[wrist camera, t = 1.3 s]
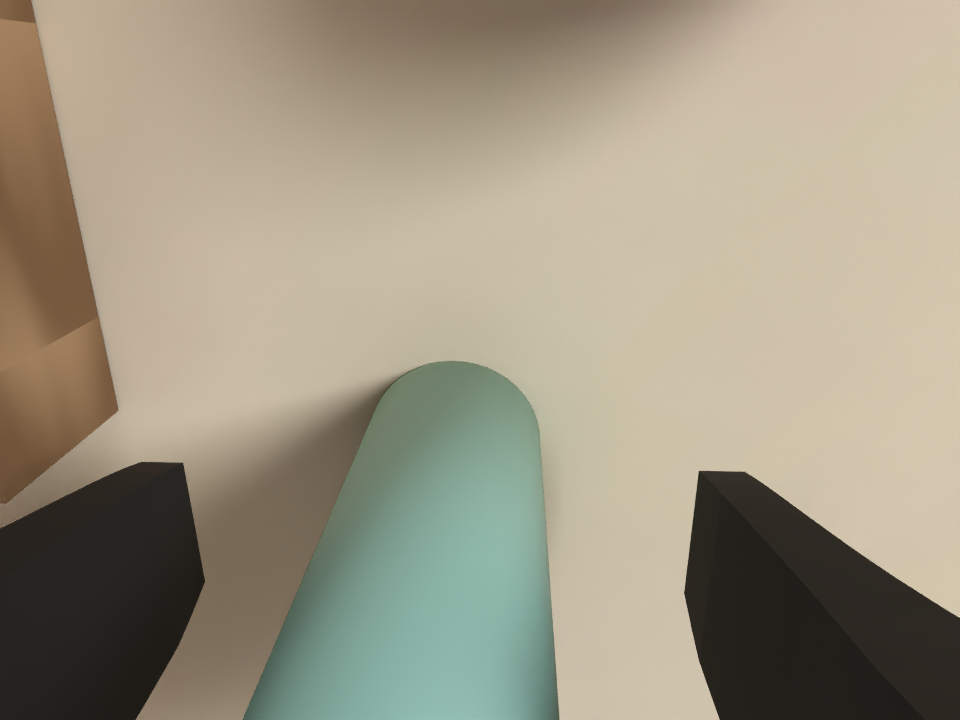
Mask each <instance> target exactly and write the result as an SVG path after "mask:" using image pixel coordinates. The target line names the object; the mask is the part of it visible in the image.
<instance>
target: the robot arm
mask: <svg viewBox="0 0 960 720" xmlns="http://www.w3.org/2000/svg"><path fill="white" fill-rule="evenodd" d="M204 583H205V579H204V574H203V568H202V563H201V557H200V552H199V547H198V541H197V536H196V530H195V525H194V519H193V514H192V509H191V503H190V498H189V492H188V487H187V482H186V476H185V471H184V465H183V463H166V462H140V463H137V464H135V465H132V466H129V467H127V468H124V469H122V470H119V471H117V472H115V473H113V474H110V475H108V476H106V477H104V478H102V479H100V480H97V481H95V482H93V483H91V484H89V485H87V486H85V487H83V488H81V489H79V490H77V491H75V492H73V493H71V494H69V495H67V496H65V497H63V498H61V499H59V500H57V501H55V502H53V503H51V504H49V505H47V506H45V507H43V508H41V509H39V510H37V511H35V512H33V513H31V514H29V515H27V516H25V517H23V518H21V519H19V520H17V521H15V522H13V523H11V524H9V525H7V526H5V527H3V528H1V529H0V720H136V718H137V716H138V715H139V713H140V711H141V710H142V708H143V706H144V704H145V703H146V701H147V699H148V698H149V696H150V694H151V693H152V691H153V689H154V687H155V686H156V684H157V682H158V680H159V679H160V677H161V675H162V674H163V672H164V670H165V668H166V667H167V665H168V663H169V661H170V660H171V658H172V656H173V654H174V652H175V651H176V649H177V647H178V645H179V643H180V641H181V638H182V636H183V634H184V631H185V629H186V627H187V625H188V622H189V620H190V618H191V615H192V613H193V610H194V608H195V605H196V603H197V600H198V598H199V595H200V593H201V590H202V588H203V585H204ZM684 594H685V599H686V603H687V608H688V613H689V618H690V622H691V627H692V632H693V636H694V640H695V645H696V649H697V653H698V658H699V662H700V665H701V668H702V670H703V673H704V676H705V679H706V682H707V685H708V688H709V691H710V693H711V696H712V699H713V702H714V705H715V707H716V710H717V713H718V716H719V719H720V720H960V618H959V617H957V616H955V615H954V614H952V613H950V612H949V611H947V610H946V609H944V608H942V607H941V606H939V605H938V604H936V603H934V602H933V601H931V600H930V599H928V598H927V597H925V596H923V595H922V594H920V593H919V592H917V591H916V590H914V589H912V588H911V587H909V586H908V585H906V584H905V583H903V582H901V581H900V580H898V579H897V578H895V577H894V576H892V575H891V574H889V573H888V572H886V571H885V570H883V569H882V568H880V567H879V566H877V565H876V564H874V563H873V562H871V561H870V560H868V559H867V558H866V557H864V556H863V555H861V554H860V553H858V552H857V551H855V550H854V549H853V548H851V547H850V546H848V545H847V544H846V543H844V542H843V541H841V540H840V539H838V538H837V537H836V536H834V535H833V534H831V533H830V532H829V531H827V530H826V529H825V528H823V527H822V526H820V525H819V524H818V523H816V522H815V521H814V520H812V519H811V518H809V517H808V516H807V515H805V514H804V513H803V512H801V511H800V510H799V509H797V508H796V507H794V506H793V505H792V504H790V503H789V502H788V501H786V500H785V499H784V498H782V497H781V496H779V495H778V494H777V493H775V492H774V491H773V490H771V489H770V488H768V487H767V486H765V485H764V484H763V483H761V482H760V481H758V480H757V479H755V478H754V477H752V476H750V475H749V474H747V473H746V472H725V471H699V475H698V483H697V492H696V500H695V508H694V517H693V525H692V533H691V542H690V550H689V558H688V567H687V575H686V583H685V592H684Z"/></svg>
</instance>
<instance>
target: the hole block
mask: <svg viewBox="0 0 960 720" xmlns="http://www.w3.org/2000/svg"><path fill="white" fill-rule="evenodd" d="M117 411H118V406H117V401H116V397H115V392H114V387H113V382H112V378H111V373H110V368H109V364H108V359H107V354H106V350H105V345H104V340H103V336H102V331H101V326H100V322H99V317H98V312H97V307H96V303H95V298H94V293H93V289H92V284H91V279H90V275H89V270H88V265H87V261H86V256H85V251H84V247H83V242H82V237H81V232H80V228H79V223H78V218H77V214H76V209H75V204H74V200H73V195H72V190H71V186H70V181H69V176H68V171H67V167H66V162H65V157H64V153H63V148H62V143H61V139H60V134H59V129H58V125H57V120H56V115H55V111H54V106H53V101H52V96H51V92H50V87H49V82H48V78H47V73H46V68H45V64H44V59H43V54H42V50H41V45H40V40H39V36H38V31H37V26H36V21H35V17H34V12H33V7H32V3H31V0H0V503H7V502H8V501H10V500H11V499H12V498H13V497H14V496H16V495H17V494H18V493H19V492H20V491H22V490H23V489H24V488H25V487H27V486H28V485H29V484H30V483H31V482H33V481H34V480H35V479H36V478H37V477H39V476H40V475H41V474H42V473H43V472H45V471H46V470H47V469H48V468H50V467H51V466H52V465H53V464H54V463H56V462H57V461H58V460H59V459H60V458H62V457H63V456H64V455H65V454H66V453H68V452H69V451H70V450H71V449H73V448H74V447H75V446H76V445H77V444H79V443H80V442H81V441H82V440H83V439H85V438H86V437H87V436H88V435H89V434H91V433H92V432H93V431H94V430H96V429H97V428H98V427H99V426H100V425H102V424H103V423H104V422H105V421H106V420H108V419H109V418H110V417H111V416H112V415H114V414H115V413H116V412H117Z"/></svg>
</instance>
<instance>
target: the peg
mask: <svg viewBox="0 0 960 720" xmlns="http://www.w3.org/2000/svg"><path fill="white" fill-rule="evenodd" d="M243 720H559V707H558V693H557V678H556V664H555V650H554V635H553V621H552V606H551V592H550V578H549V563H548V549H547V534H546V520H545V505H544V491H543V477H542V462H541V448H540V433H539V427H538V422H537V419H536V416H535V413H534V411H533V409H532V407H531V405H530V403H529V401H528V400H527V399H526V397H525V396H524V394H523V393H522V392H521V391H520V390H519V389H518V388H517V387H516V386H515V385H514V384H513V383H512V382H511V381H509V380H508V379H507V378H505V377H504V376H502V375H501V374H499V373H497V372H495V371H493V370H491V369H489V368H487V367H483V366H480V365H477V364H473V363H468V362H460V361H444V362H437V363H431V364H428V365H424V366H421V367H418V368H416V369H414V370H412V371H410V372H408V373H407V374H405V375H403V376H402V377H400V378H399V379H398V380H397V381H395V382H394V383H393V384H392V385H391V386H390V387H389V388H388V389H387V391H386V392H385V393H384V395H383V396H382V398H381V399H380V401H379V403H378V405H377V407H376V409H375V411H374V414H373V416H372V418H371V421H370V423H369V425H368V428H367V430H366V432H365V435H364V437H363V439H362V442H361V444H360V446H359V449H358V451H357V453H356V456H355V458H354V460H353V463H352V465H351V467H350V470H349V472H348V475H347V477H346V479H345V482H344V484H343V486H342V489H341V491H340V493H339V496H338V498H337V500H336V503H335V505H334V507H333V510H332V512H331V514H330V517H329V519H328V521H327V524H326V526H325V528H324V531H323V533H322V535H321V538H320V540H319V542H318V545H317V547H316V549H315V552H314V554H313V556H312V559H311V561H310V563H309V566H308V568H307V570H306V573H305V575H304V577H303V580H302V582H301V584H300V587H299V589H298V591H297V594H296V596H295V598H294V601H293V603H292V605H291V608H290V610H289V612H288V615H287V617H286V619H285V622H284V624H283V626H282V629H281V631H280V633H279V636H278V638H277V640H276V643H275V645H274V647H273V650H272V652H271V655H270V657H269V659H268V662H267V664H266V666H265V669H264V671H263V673H262V676H261V678H260V680H259V683H258V685H257V687H256V690H255V692H254V694H253V697H252V699H251V701H250V704H249V706H248V708H247V711H246V713H245V715H244V718H243Z"/></svg>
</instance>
